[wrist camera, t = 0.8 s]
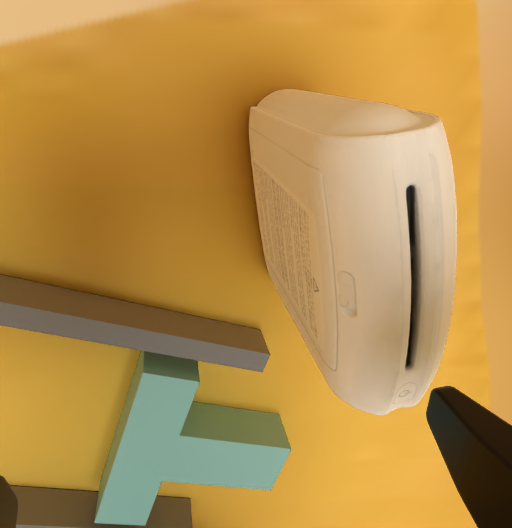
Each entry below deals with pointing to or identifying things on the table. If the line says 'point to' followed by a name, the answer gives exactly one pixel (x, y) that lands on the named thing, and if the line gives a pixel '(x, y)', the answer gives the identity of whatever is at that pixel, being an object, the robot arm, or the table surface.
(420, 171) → the photo printer
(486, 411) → the robot arm
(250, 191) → the table surface
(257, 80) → the table surface
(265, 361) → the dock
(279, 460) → the t block
